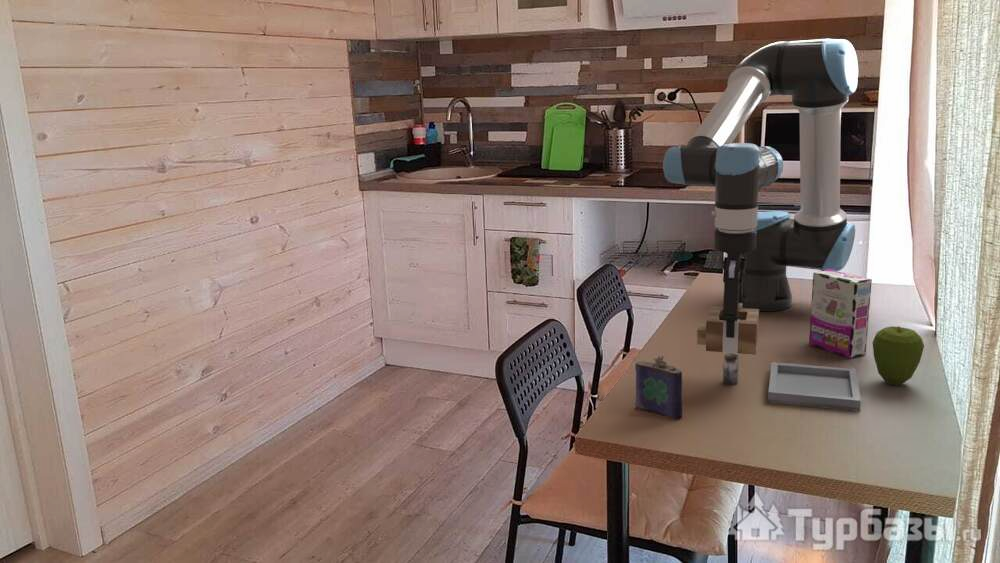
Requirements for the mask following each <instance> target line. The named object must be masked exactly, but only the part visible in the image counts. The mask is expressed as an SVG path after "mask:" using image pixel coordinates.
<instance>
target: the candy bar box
mask: <svg viewBox="0 0 1000 563" xmlns="http://www.w3.org/2000/svg"><path fill="white" fill-rule="evenodd" d="M812 274H813V275H812V288H811V289H812V293H811V304H810V306H811V309H810V320H809V321H810V323H809V337H808V338H809V339H808V344H809V345H811V346H812V347H813V346H814V347H816V348H819V349H822V350H825V351H828V352H831V353H834V354H837V355H840V356H842V357H845V358H848V359H854V358H858V357H862V356H865V355H866V353H867V345H868V344H867V343H868V331H869V330H868V329H869V317H870V316H869V315H870V305H871V293H872V281H873V280H872V278H867V277H863V276H858V275H855V274H850V273H845V272H842V271H841V272H840V271H833V270H829V269H828V270H817V271H813V273H812Z"/></svg>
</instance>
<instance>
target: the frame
mask: <svg viewBox="0 0 1000 563" xmlns="http://www.w3.org/2000/svg"><path fill="white" fill-rule="evenodd" d="M727 314H732V313H727ZM722 315H723V306H710V308H709V312H708V314H707V318H706V321H705V325H698V327H697V328H696V329H697V330H696V345H702V346H703V345H704V346H705V352H712V353H723V352H722V350H723V320H719V316H722ZM738 319H739V327H738V353H737V355H738V354H740V355H742V354H743V355H753V356H754V355H755V356H756V353H757V349H758V348H757V347H758V340H759V326H760V325H759V322H760V320H759V319H760V311H759V309H747V308H738Z"/></svg>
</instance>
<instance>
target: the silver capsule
mask: <svg viewBox="0 0 1000 563" xmlns="http://www.w3.org/2000/svg"><path fill="white" fill-rule="evenodd" d="M739 359H740V358H739V355H738V354H737V353H724V354H723V363H722V364H723V365H722V366H723V367H722V383H723V385H727V386H736V385H737V383H739V381H738V380H739V378H738V377H739Z"/></svg>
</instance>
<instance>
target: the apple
mask: <svg viewBox="0 0 1000 563" xmlns="http://www.w3.org/2000/svg"><path fill="white" fill-rule="evenodd" d="M924 348H925V344H924V342H923V339H922V337H921V335H919V334H918V333H917V332H916V331H915V330H914V329H911V328H907V327H902V326H900V325H898V326H887V327H884V328H882V329H880V330H879V331H877V332H876V334H875V336H874V338H873V341H872V351H873V352H872V353H873V358H874V361H875V366H876V370H877V373H878V374H879V376H880V377H881V378H882V380H883V381H884V382H885V383H886V384H889V385H898V386H901V385H903V384H904V383H905V382H906V383H907V381H909V380H910V379H912V377H913V375H914V374H915V372H916V370H917V369H918V366H919V364H920V362H921V358H922V356H923V352H924Z"/></svg>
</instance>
